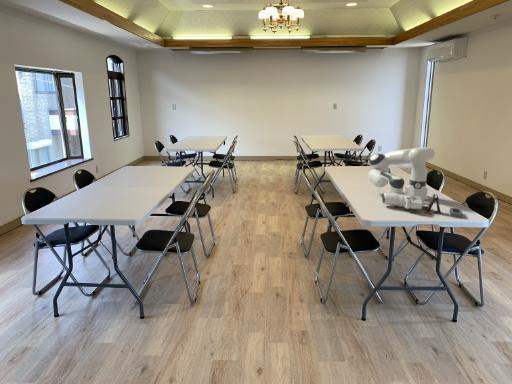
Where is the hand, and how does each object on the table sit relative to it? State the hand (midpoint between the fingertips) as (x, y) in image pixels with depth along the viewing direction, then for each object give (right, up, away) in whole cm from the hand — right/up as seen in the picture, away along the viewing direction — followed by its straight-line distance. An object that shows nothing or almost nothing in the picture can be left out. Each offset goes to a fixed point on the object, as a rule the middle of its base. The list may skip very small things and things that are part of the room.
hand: (428, 203), depth 257 cm
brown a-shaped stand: (+3, -6, +1) cm, 7 cm away
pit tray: (+16, -7, -4) cm, 18 cm away
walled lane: (-1, -5, +2) cm, 6 cm away
